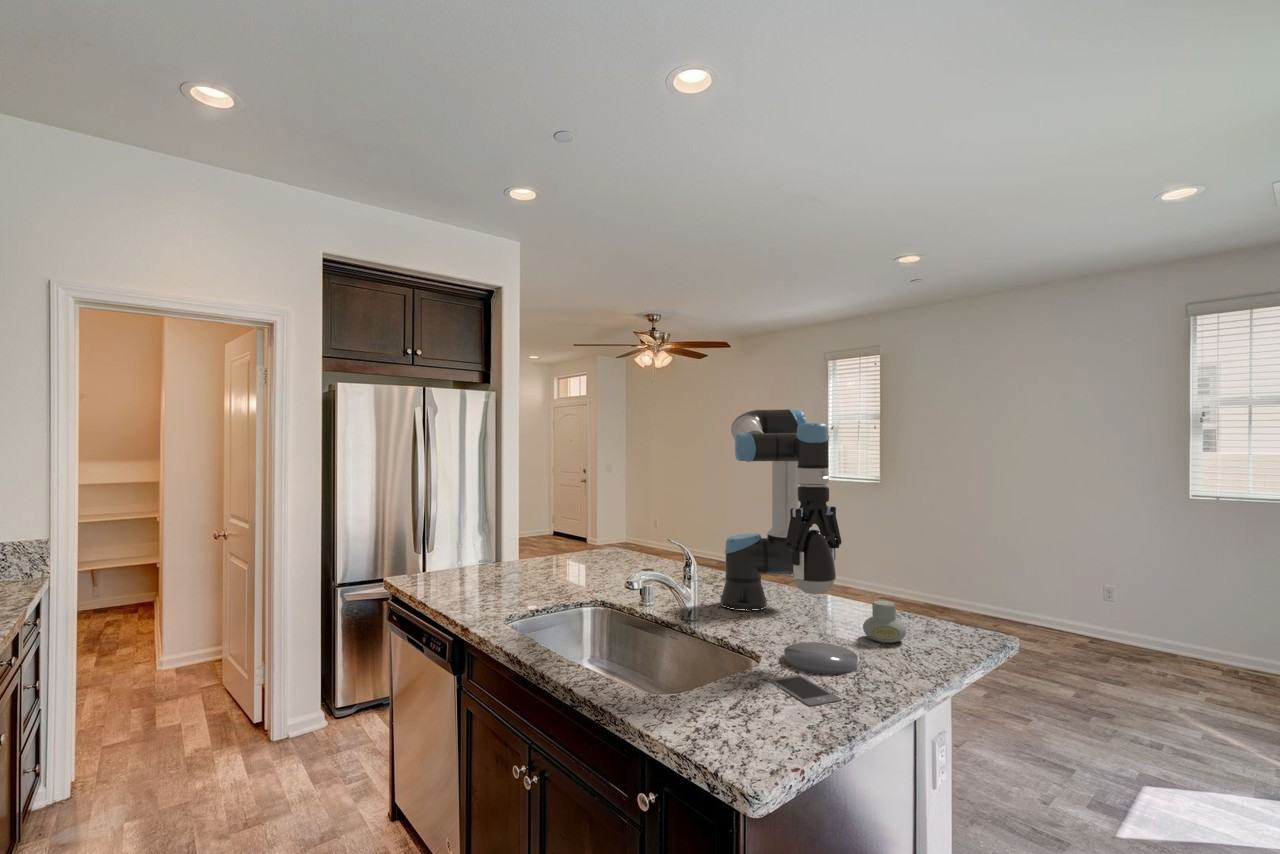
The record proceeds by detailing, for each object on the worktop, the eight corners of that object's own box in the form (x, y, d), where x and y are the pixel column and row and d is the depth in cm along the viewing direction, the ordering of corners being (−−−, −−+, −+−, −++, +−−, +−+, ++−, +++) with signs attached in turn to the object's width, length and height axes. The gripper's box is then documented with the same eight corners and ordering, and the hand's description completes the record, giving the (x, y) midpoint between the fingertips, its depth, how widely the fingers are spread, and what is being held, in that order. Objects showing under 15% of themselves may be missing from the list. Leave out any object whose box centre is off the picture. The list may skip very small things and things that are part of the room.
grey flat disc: (816, 646, 160) (816, 638, 160) (872, 665, 146) (872, 656, 146) (769, 658, 151) (769, 649, 151) (824, 679, 136) (824, 670, 136)
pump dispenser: (842, 596, 144) (841, 532, 145) (798, 596, 145) (797, 532, 146) (830, 587, 155) (829, 527, 155) (789, 587, 155) (788, 527, 156)
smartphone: (767, 682, 136) (767, 679, 136) (798, 677, 139) (798, 674, 139) (809, 709, 122) (808, 705, 122) (842, 702, 125) (842, 699, 125)
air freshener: (863, 642, 163) (863, 605, 163) (862, 634, 171) (861, 598, 171) (908, 646, 160) (907, 608, 160) (904, 637, 167) (903, 600, 168)
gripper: (791, 487, 142) (792, 584, 141) (855, 485, 154) (857, 574, 153) (768, 486, 148) (769, 578, 147) (832, 484, 160) (833, 569, 159)
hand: (814, 576), depth 150 cm, fingers closed on pump dispenser, 10 cm apart
